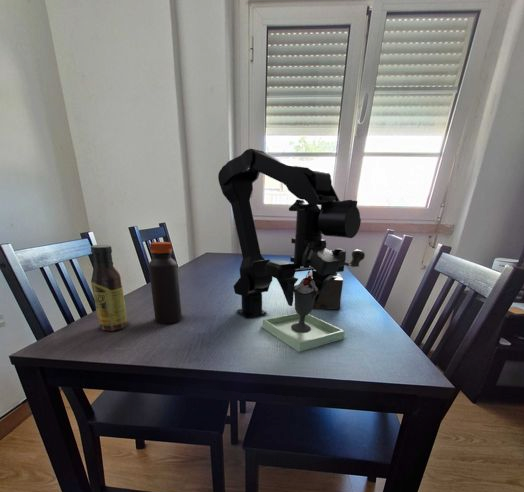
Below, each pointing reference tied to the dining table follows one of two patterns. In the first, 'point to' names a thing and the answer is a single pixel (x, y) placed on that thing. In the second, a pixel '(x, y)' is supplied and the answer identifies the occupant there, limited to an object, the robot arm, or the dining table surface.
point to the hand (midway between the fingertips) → (303, 303)
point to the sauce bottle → (107, 290)
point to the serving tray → (303, 340)
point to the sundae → (304, 302)
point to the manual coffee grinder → (336, 286)
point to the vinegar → (164, 284)
